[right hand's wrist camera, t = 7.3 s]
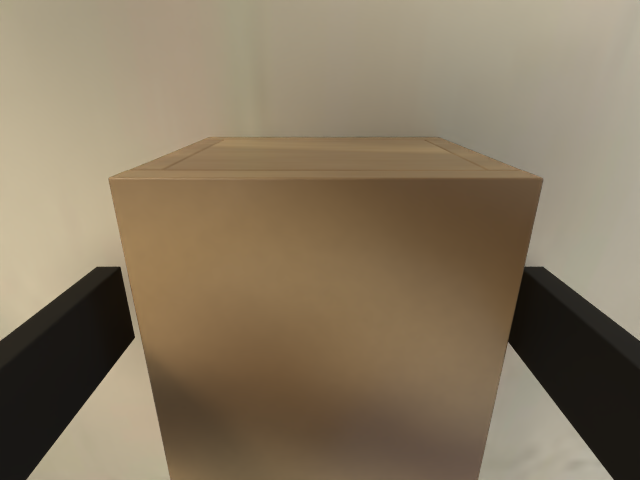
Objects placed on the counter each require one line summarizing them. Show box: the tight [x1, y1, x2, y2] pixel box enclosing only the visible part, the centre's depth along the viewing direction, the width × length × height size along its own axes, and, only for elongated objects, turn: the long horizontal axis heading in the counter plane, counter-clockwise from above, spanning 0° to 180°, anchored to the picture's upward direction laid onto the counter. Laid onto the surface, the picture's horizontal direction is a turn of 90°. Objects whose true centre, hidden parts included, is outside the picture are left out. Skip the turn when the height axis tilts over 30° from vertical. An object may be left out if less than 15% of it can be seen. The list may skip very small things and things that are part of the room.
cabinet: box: [109, 137, 543, 480], centre depth 16 cm, size 17×11×9 cm, turn 0°
